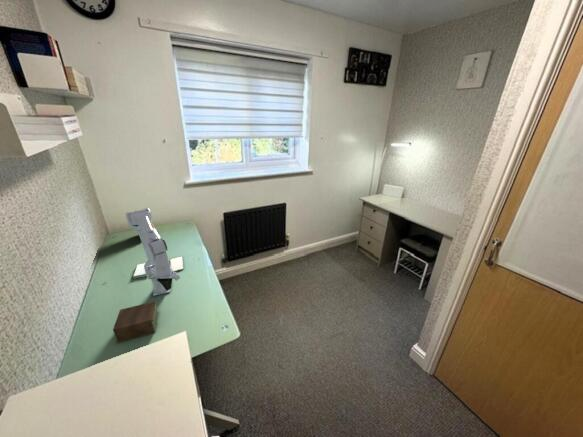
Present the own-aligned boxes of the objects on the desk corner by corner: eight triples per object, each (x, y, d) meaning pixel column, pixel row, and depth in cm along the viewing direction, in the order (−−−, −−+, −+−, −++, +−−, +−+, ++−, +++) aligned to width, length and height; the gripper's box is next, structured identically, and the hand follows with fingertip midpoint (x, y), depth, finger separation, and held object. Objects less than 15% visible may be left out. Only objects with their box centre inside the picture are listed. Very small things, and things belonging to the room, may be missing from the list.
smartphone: (182, 256, 153) (183, 268, 141) (182, 256, 153) (183, 269, 141) (170, 258, 150) (170, 271, 138) (170, 259, 150) (170, 272, 138)
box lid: (156, 302, 108) (156, 301, 108) (153, 320, 98) (153, 319, 98) (120, 310, 103) (120, 309, 103) (113, 331, 93) (112, 329, 93)
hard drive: (149, 273, 135) (152, 261, 146) (132, 276, 132) (137, 264, 143) (149, 275, 136) (152, 263, 146) (133, 278, 133) (137, 266, 144)
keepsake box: (158, 313, 110) (154, 302, 108) (154, 332, 100) (151, 321, 98) (124, 321, 106) (120, 311, 103) (118, 342, 96) (113, 331, 93)
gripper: (182, 262, 106) (187, 286, 112) (156, 257, 110) (162, 280, 115) (170, 271, 100) (176, 296, 105) (143, 265, 104) (150, 290, 109)
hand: (168, 289), depth 110 cm, fingers closed
